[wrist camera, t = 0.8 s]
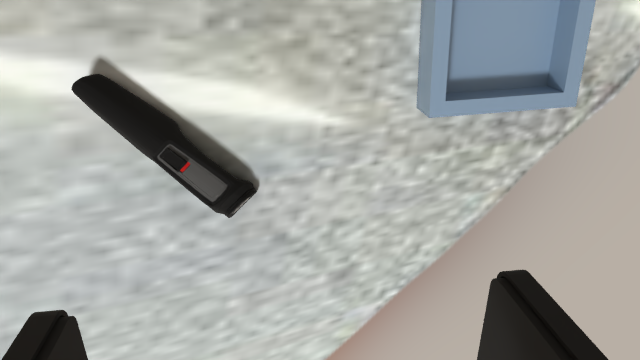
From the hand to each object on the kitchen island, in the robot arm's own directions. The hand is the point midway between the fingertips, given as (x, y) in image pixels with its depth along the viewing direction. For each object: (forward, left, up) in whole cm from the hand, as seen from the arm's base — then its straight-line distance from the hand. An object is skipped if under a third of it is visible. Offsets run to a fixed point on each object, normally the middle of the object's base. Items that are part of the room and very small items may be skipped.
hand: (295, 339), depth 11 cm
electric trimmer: (+5, -8, -28) cm, 30 cm away
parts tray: (-4, +18, -28) cm, 34 cm away
